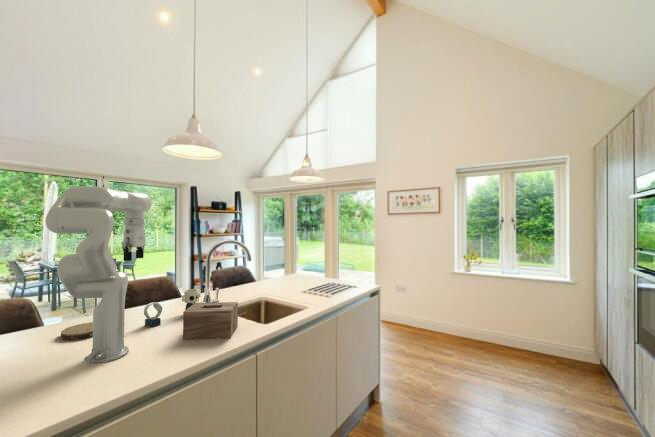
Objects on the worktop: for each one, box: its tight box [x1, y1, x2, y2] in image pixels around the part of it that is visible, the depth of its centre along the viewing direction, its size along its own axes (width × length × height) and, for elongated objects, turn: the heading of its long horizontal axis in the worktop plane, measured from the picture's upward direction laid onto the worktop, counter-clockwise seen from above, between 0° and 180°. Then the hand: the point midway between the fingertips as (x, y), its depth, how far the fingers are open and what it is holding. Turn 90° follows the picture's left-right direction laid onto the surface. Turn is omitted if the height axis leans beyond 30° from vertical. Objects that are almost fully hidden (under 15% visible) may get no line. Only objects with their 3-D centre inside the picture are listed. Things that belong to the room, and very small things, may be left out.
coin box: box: [182, 301, 239, 341], centre depth 132 cm, size 14×20×12 cm
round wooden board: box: [60, 321, 93, 342], centre depth 131 cm, size 16×16×3 cm
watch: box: [143, 301, 163, 328], centre depth 142 cm, size 6×8×11 cm
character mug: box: [181, 288, 201, 311], centre depth 160 cm, size 11×7×13 cm, turn 148°
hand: (133, 259), depth 134 cm, fingers open, 9 cm apart
